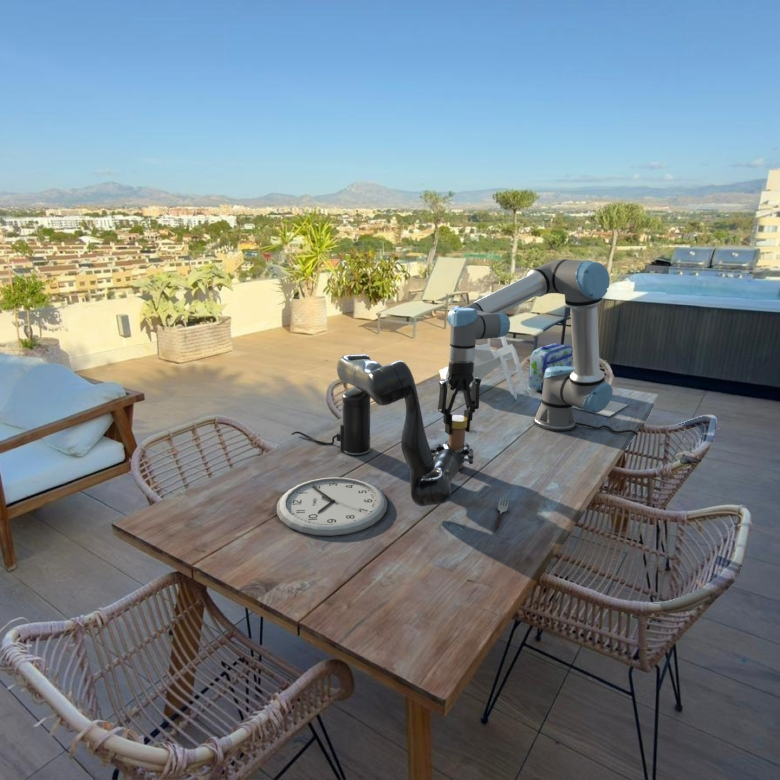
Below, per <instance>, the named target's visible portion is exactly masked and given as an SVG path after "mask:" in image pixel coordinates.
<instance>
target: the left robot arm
mask: <svg viewBox="0 0 780 780" xmlns="http://www.w3.org/2000/svg"><path fill="white" fill-rule="evenodd" d="M336 373H337V374H336V375H337V376H338V379H339V381H340V382H341V383H343V384H346V385H351V386H353V387H352V388H351V389H350V390H346V391H345V392H344V393H343V394H342V397H341V398H342V399H341V400H342V402H341V403H342V423H341V424H340V429H339V430H340V431H338V432H337V433H336V434H335V435H333V436H332V438H331V442H325V441H321V440H318V439H315V438H314V437H312V436H311V435H307V434H305V433H303V432H302V431H293V432H291V435H292V436H293V435H295V434H296V435H297V434H299V435H302V436H304V437H305V438H308V439H310V440H311V441H312V442H315V443H318V444H321V445H329V446H330V445H334V443H335V439H336V442H340V452H342V453H345V454H346V455H350V456H364V455H367V454H368V453H370V452H371V399H372V401H373V402H375V403H376V404H377V405H378V406H379V405H380V406H388V405H391V404H393V403H397V402H398V401H400V400H403V399H404V402H405V418H404V424H403V428H402V432H401V437H400V438H401V439H400V444H401V445H400V446H401V451H402V454H403V458H404V460H405V463H406V466H407V469H408V473H409V481H410V483H409V485H410V497H411V500H412V501H413V503H414V504H415V505H417V506H419V507H429V506H436V505H442V504H445V503H447V502H448V501H449V500H450V499H451V498H452V497H451V495H452V490H451V483H452V481H453V480H454V478H455V477H456V476H457V474H458V472H459V470H460V469H459V468H460V466H461V463H463V464H464V463H465V462H467V463H468V464H469V465H473V464H474V449H473V448H470V444H469V443H468V442H465V443H464V447H463V448H459V449H457V450H452V449H449V440H448V441H445V443H444V444H441V443H437V444H435V445H434V446H433V447H430V444H429V441H428V437H427V434H426V431H425V425H424V421H423V415H422V409H421V404H420V401H419V399H420V398H419V395H418V391H417V386H416V382H415V378H414V376H413V372H412V371H411V369H410V367H409V366H408V364H407V363H406V362H404V361H403V360H396V361H393V362H390V363H389V364H386V365H384V366H383V365H382V364H381V363H379V362H378V361H376V360H372V359H371V357H370V355H368V354H347V355H342V356H341V357H340V358H339V359H338V361H337V363H336ZM424 476H425V478H423V477H424Z"/></svg>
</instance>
